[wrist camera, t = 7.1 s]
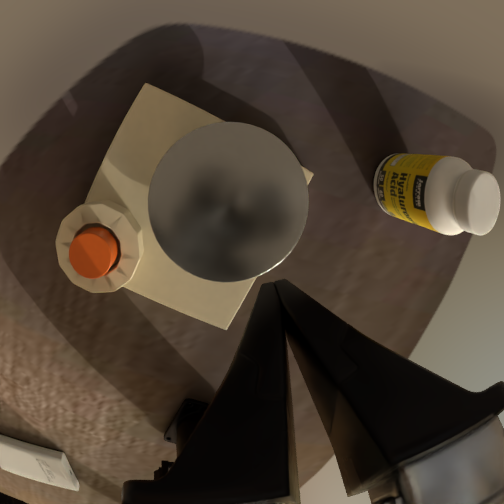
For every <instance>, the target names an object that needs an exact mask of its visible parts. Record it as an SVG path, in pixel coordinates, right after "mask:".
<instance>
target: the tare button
mask: <svg viewBox="0 0 504 504" xmlns="http://www.w3.org/2000/svg"><path fill="white" fill-rule="evenodd" d="M117 252H118V249H117V243H116V241H115V238H114V237H113V235H112V234H111V233H110V232H109V231H107V230H106V229H104V228H101V227H91V228H88V229H86V230H85V231H83V232H82V233H81V234H79V235H78V236H76V237H75V238H74V240H73V241H72V243H71V245H70V248H69V259H70V263H71V265H72V267H73V268H74V270H75V271H76V272H77V273H78V274H79V275H81V276H83V277H85V278H89V279H96V278H100V277H102V276H103V275H105V274H106V273H107V272H108V270H109V269H110V267H111V266H112V264H113V263H114V261H115V259H116V257H117Z"/></svg>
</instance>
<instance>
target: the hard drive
mask: <svg viewBox="0 0 504 504" xmlns="http://www.w3.org/2000/svg"><path fill="white" fill-rule="evenodd" d="M0 467H1V468H2V469H4V470H6V471H9V472H12V473H15V474H17V475H20V476H23V477H26V478H30V479H33V480H36V481H40V482H43V483H47V484H50V485H54V486H58V487H62V488H66V489H71V490H75V491H79V482H78V480H77V478H76V476H75V474H74V473H73V471H72V468H71V466H70V464H69V462H68V460H67V458H66V456H65V454H64V453H63V452H59V451H55V450H52V449H48V448H44V447H40V446H36V445H33V444H29V443H26V442H23V441H19V440H16V439H13V438H10V437H7V436H4V435H1V434H0Z"/></svg>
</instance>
